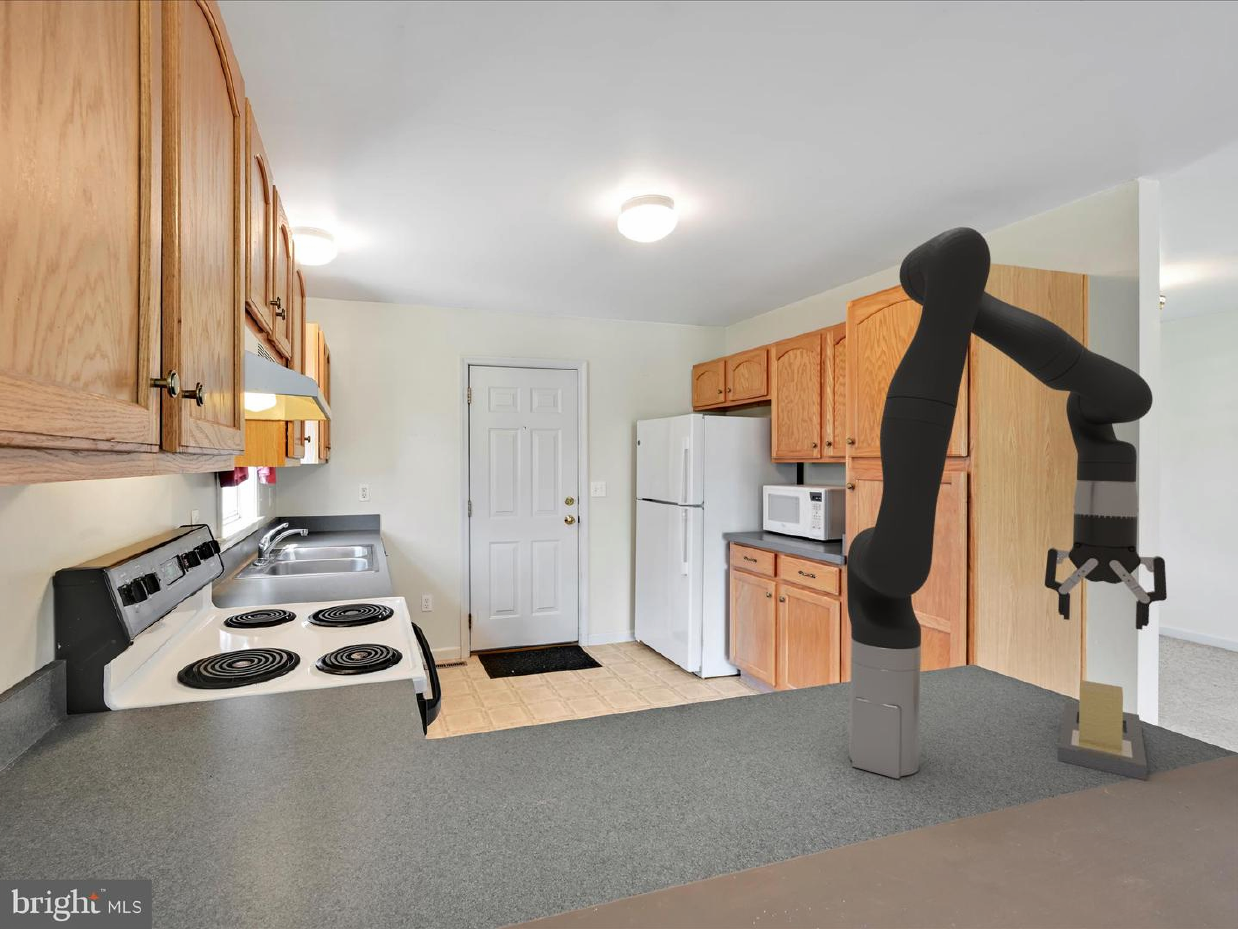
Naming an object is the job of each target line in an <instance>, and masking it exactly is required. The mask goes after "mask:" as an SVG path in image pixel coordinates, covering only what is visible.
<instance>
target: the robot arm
mask: <svg viewBox="0 0 1238 929" xmlns="http://www.w3.org/2000/svg"><path fill="white" fill-rule="evenodd" d="M990 251H991V250H990V247H989V245H988V242H987V240H986V239H985V237H984V236H983V235H982V234H981V233H980V232H979V231H977V230H976V229H974V228H971V227H965V226H960V227H954V228H951V229H948V230H945V231H943V232H942V233H939V234H937V235H935V236H934V237H932V238H930V239H929V240H927V241H925V242H924V243H922V244H919V246H917V247H916V248H914V249H913V250H912V251H910V252H909V253H908V254H907V255H906V257H904V259H903V260H902V262H901V265H900V268H899V274H898V275H899V282H900V286H901V288H902V290H903V292H904V293H905V294H906V295H907V297H909V298H910V299H911V300H912V301H913V302H915V303H917V304H918V305H920V306H922V309H921V314H920V320H919V323H918V326H917V329H916V331H915V333H914V336H913V338H912V340H911V342H910V344H909V345H908V347H907V349H906V351H905V353H904V354H903V357H902V358H901V360H900V362H899V364H898V367H897V368H896V370H895V372H894V374H893V376H892V379H891V381H890V382H889V386H888V390H887V393H886V395H885V396H886V397H885V402H884V406H883V412H882V417H881V420H880V421H881V424H880V432H879V451H880V462H881V471H882V472H881V473H882V495H881V501H880V505H879V509H878V515H877V518H876V521H875V526H871V527H868V528H866V529H865V528H864V529H863V530H861V531H860V532H859V533H858V534H856V536H855V537H854V538H853V540H852V541H851V543H850V545H849V548H848V551H847V552H848V553H847V557H846V560H847V561H846V595H847V596H846V597H847V598H846V600H847V613H848V618H849V621H850V632H851V634H850V638H851V640H850V642H851V643H850V683H849V684H850V685H849V686H850V688H849V690H850V691H849V695H850V696H849V698H850V699H849V700H850V701H849V746H848V747H849V749H848V750H849V754H848V755H849V756H848V757H849V759H850V760H851V763H852V764H851V766H852V767H853V768H857V769H861V770H865V771H868V772H872V773H876V774H879V775H883V776H887V777H888V778H889V777H890V778H893V779H900V778H901V777H903V776H910V775H913V774H916V773H917V772H918V771H919V770H920V741H921V740H920V733H921V732H920V731H921V730H920V728H921V726H920V724H921V722H920V721H921V719H920V718H921V668H922V666H921V665H922V664H921V663H922V662H921V660H922V628H921V624H920V622H919V620H918V618H917V616H916V614H915V611H914V608H913V603H912V599H913V596H912V595H914V594H915V593H917V592H919V590H920V589H921V588H922V587H923V586H924V584H925V582H927V580H928V578H929V576H930V573H931V568H932V562H933V552H934V539H935V536H934V535H935V526H936V525H935V524H936V514H937V505H938V499H939V494H940V493H939V492H940V488H941V485H942V480H943V476H944V470H945V465H946V460H947V455H948V450H949V446H950V442H951V438H952V434H953V429H954V422H955V420H956V419H955V418H956V413H957V407H958V403H959V402H958V401H959V394H960V386H961V384H962V379H963V376H964V375H963V374H964V370H965V365H966V360H967V355H968V350H969V349H968V348H969V344H970V339H971V336H972V335H971V334H973V335H974V336H976V337H978V338H980V339H982V340H983V341H985V342H986V343H988V344H989V345H991V346H993V347H994V348H995V349H997V350H998V351H1000V352H1001V353H1003V354H1004V355H1005V356H1007V357H1008V358H1010V359H1011V360H1013V361H1014V362H1015V363H1017V364H1018V365H1019V366H1020V367H1022V368H1023V369H1024V370H1025V371H1027V373H1029V374H1030V375H1032V376H1033V377H1034V378H1036V379H1037V380H1038V381H1040V382H1041V384H1043V385H1045V386H1046V387H1048V388H1050V389H1052V390H1054V391H1062V392H1069V394H1068V397H1067V400H1066V407H1065V408H1066V410H1065V411H1066V417H1067V421H1068V424H1069V429H1070V432H1071V435H1072V440H1073V443H1074V446H1075V449H1076V454H1077V461H1076V483H1075V484H1076V485H1075V490H1074V496H1073V498H1074V499H1073V526H1072V532H1073V533H1072V535H1073V536H1072V547H1071V549H1070V550H1064V549H1058V548H1055V547H1050V548H1049V549H1048V551H1047V556H1046V568H1045V574H1044V575H1045V576H1044V586H1045V587H1046V588H1048V589H1051V590H1053V591H1055V592H1057V594H1058V606H1057V608H1058V611H1057V612H1058V614H1059V615H1060V616H1063V620H1067V621H1069V620H1070V616H1071V614H1070V613H1071V593H1070V591H1071V590H1072V589H1073V588H1074V587H1076V586H1077V585H1078V583H1080V582H1081V581H1082V580H1083V579H1085V580H1087V581H1090V582H1094V583H1100V582H1105V583H1108V584H1112V585H1113V584H1114V585H1117V584H1119V583H1122V582H1123V583H1124V585H1126V586H1127V588H1128V589H1129V591H1131V593H1133V595H1134V596H1135V597H1136V598H1137V600H1136V601H1135V629H1136V630H1140V631H1143V627H1148V625H1149V623H1150V605H1151V604H1152V603H1153V602H1160V601H1161V602H1162V601H1163V602H1164V601H1165V600H1167V598H1168V595H1167V594H1168V593H1167V576H1166V573H1167V572H1166V561H1165V559H1164V558H1163V556H1159V555H1157V556H1140V555H1139V554H1138V551H1137V549H1138V548H1137V547H1138V546H1137V545H1138V512H1139V504H1138V503H1139V500H1138V498H1139V497H1138V491H1137V483H1136V482H1137V463H1138V462H1137V459H1138V458H1137V457H1138V456H1137V455H1138V454H1137V448H1136V447H1135V446H1134V445H1133V443H1131V442H1128V441H1124V440H1120V439H1118V438H1117V436H1116V433H1115V431H1114V430H1115V429H1114V427H1113V424H1125V423H1131V422H1135V421H1138V420H1140V419H1142V418H1143V417H1144V416H1146V415H1147V414H1148V413H1149V411H1150V409H1151V408H1152V405H1153V400H1154V399H1153V392H1152V390H1151V387H1150V385H1149V384H1148V383H1147V382H1146V380H1145V379H1144V378H1143V377H1142V376H1141V375H1139V373H1137V372H1135V371H1133V370H1132V369H1131V368H1129V367H1127V366H1125V365H1122V364H1121V363H1119V362H1117V361H1114V360H1112V359H1110V358H1108V357H1105V356H1103V355H1100V354H1098V353H1096V352H1093V351H1092V350H1090V349H1088V348H1087V347H1086V346H1084V345H1083V344H1082V343H1081V342H1080V341H1078V340H1077V339H1076V338H1075V337H1073V336H1072V335H1071V334H1069V333H1068V332H1067V331H1066V330H1065V329H1063V328H1061V327H1060V326H1059V325H1057V324H1055V323H1054V322H1052V321H1051V320H1049V319H1046V318H1045V317H1044V316H1043V317H1042V316H1041V315H1038V314H1036V313H1034V312H1031V311H1028V310H1026V309H1022V308H1020V307H1018V306H1014V305H1012V304H1010V303H1008V302H1005V301H1003V300H1001V299H1000V298H997V297H995V296H993V295H991V294H990V293H988V292H987V291H985V289H986V287H987V283H988V279H989V275H990V271H991V264H992V263H991V262H992V261H991V259H992V258H991V252H990ZM1067 558H1068V559H1069V561H1070V562H1071V563H1072V564H1073V566H1074V567H1075V568H1076V569H1075V570H1074V571H1073V572H1072V573H1071V575H1070V576H1068V577H1067V578H1066V580H1064V581H1063V582H1059V581H1057V580H1056V576H1057V566H1058V565H1060V564H1063V562H1064V560H1065V559H1067ZM1140 565H1143V566H1145V568H1146V571H1148V572H1150V573H1153V590H1152V591H1148V592H1147V591H1145V589H1144V587H1142V586H1141V585H1140V583H1139V582H1138V581H1137V580H1136V579H1135V577H1133V575H1132V574H1133V572H1134V571H1136V569H1137V568H1139V566H1140Z"/></svg>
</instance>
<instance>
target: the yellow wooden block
mask: <svg viewBox="0 0 1238 929" xmlns="http://www.w3.org/2000/svg"><path fill="white" fill-rule="evenodd" d="M1123 693H1124V692H1123V686H1118V685H1112V684H1107V683H1101V682H1095V681H1088V680H1082V679H1080V685H1079V698H1078V699H1079V701H1078V702H1079V703H1078V704H1079V744H1082V745H1086V746H1091V747H1096V748H1100V749H1105V750H1110V751H1114V752H1119V753H1122V727H1123V712H1124V710H1123V709H1124V706H1123V705H1124V694H1123Z"/></svg>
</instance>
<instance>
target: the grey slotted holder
mask: <svg viewBox="0 0 1238 929" xmlns="http://www.w3.org/2000/svg"><path fill="white" fill-rule="evenodd" d="M1131 718H1132V719H1131ZM1060 728H1061V729H1060V733H1059V739H1058V740H1059V741H1058V746H1057V747H1058V748H1057V749H1058V750H1057V761H1058V762H1063V763H1067V764H1071V765H1076V766H1080V767H1085V768H1090V769H1094V770H1099V771H1102V772H1106V773H1107V772H1108V773H1110V774H1116V775H1120V776H1125V777H1129V778H1133V779H1137V780H1142V781H1146V782H1147V780H1148V779H1147V777H1148V763H1147V759H1146V758H1147V757H1146V751H1145V746H1144V739H1143V732H1142V726H1141V720H1140V715H1139V714H1137V713H1131V712H1126V711H1123V727H1122V753H1119V752H1114V751H1110V750H1105V749H1100V748H1096V747H1091V746H1086V745H1082V744H1079V703H1078V702H1071V701H1066V700H1065V702H1064V708H1063V717H1062V721H1061V727H1060Z"/></svg>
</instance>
